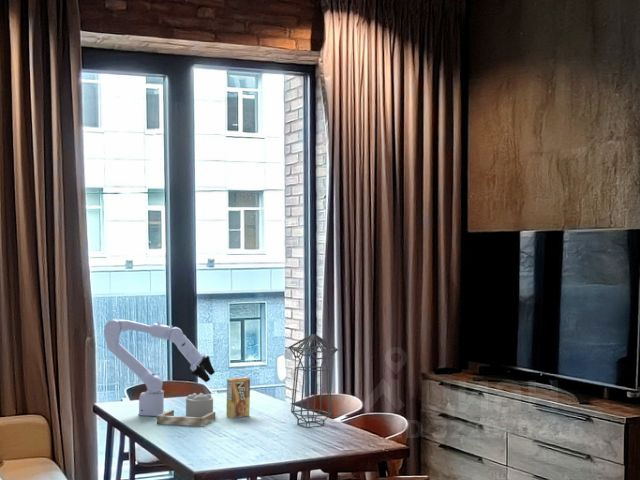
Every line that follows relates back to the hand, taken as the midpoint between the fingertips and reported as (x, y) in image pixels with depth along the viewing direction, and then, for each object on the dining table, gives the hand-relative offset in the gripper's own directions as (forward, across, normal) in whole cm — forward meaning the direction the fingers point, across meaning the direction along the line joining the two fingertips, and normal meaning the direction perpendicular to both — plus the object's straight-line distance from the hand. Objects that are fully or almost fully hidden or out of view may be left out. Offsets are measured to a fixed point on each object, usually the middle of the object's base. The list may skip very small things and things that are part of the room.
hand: (210, 377), depth 359 cm
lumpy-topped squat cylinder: (+9, -9, +11) cm, 16 cm away
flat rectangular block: (+5, -21, +9) cm, 24 cm away
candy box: (+18, -8, -2) cm, 20 cm away
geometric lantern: (+36, -19, -30) cm, 50 cm away
